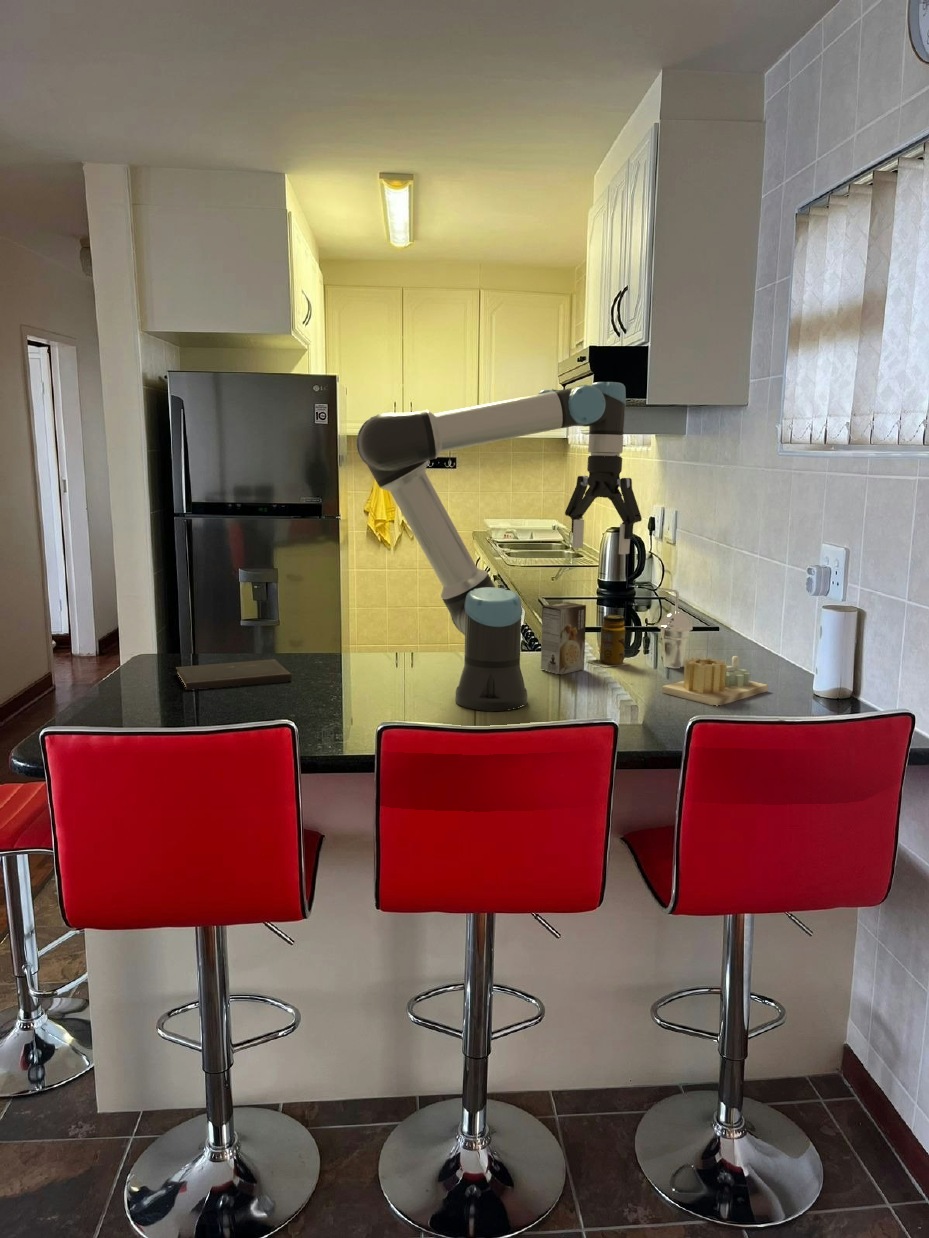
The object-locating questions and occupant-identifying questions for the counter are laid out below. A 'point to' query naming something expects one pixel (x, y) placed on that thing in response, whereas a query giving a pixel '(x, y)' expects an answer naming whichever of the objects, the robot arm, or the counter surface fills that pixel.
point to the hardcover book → (233, 674)
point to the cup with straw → (674, 635)
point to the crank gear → (736, 674)
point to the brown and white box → (563, 637)
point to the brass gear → (705, 675)
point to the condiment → (612, 642)
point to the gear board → (716, 699)
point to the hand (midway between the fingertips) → (600, 551)
